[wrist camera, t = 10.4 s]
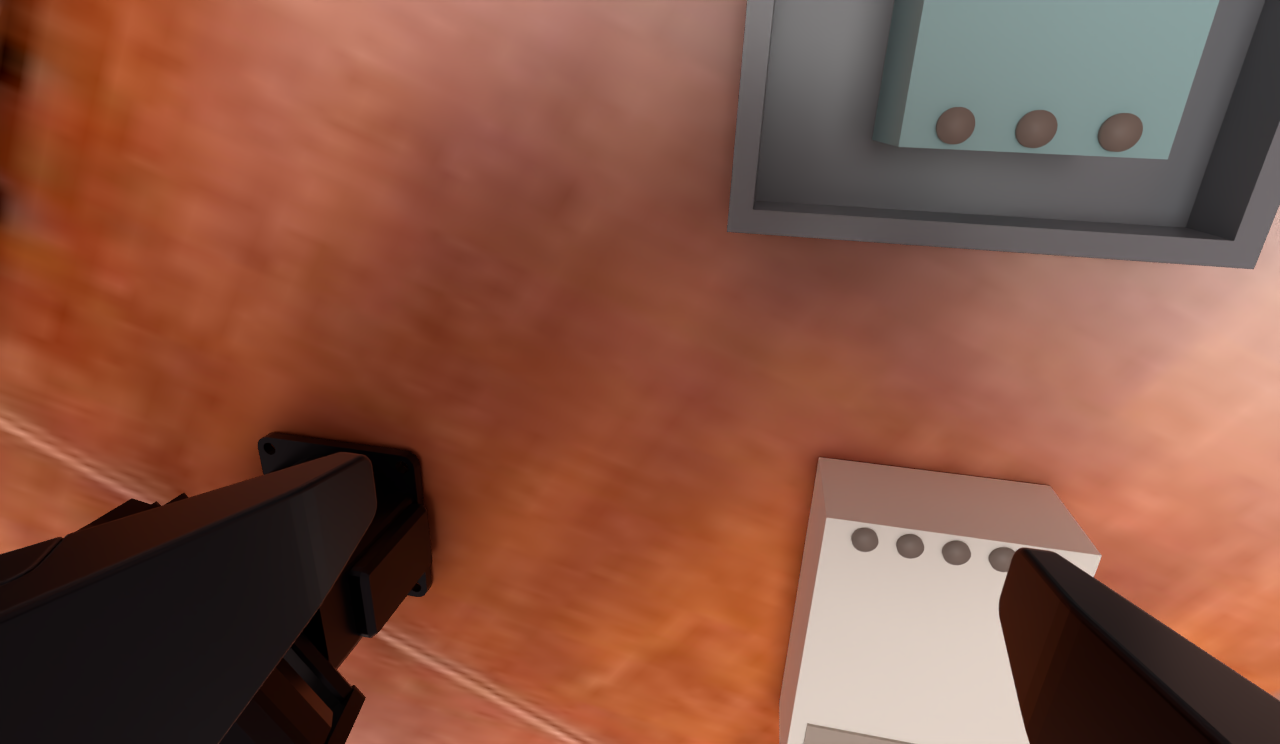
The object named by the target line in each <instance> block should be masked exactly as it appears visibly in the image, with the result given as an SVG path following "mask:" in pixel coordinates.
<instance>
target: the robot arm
mask: <svg viewBox="0 0 1280 744" xmlns="http://www.w3.org/2000/svg"><path fill="white" fill-rule="evenodd" d="M271 444H272V445H273V446H274V447H275V448H274V447H273V446H272V445H271ZM258 450H259V455H260V460H261V464H262V469H263V474H264V475H262V476H259V477H256V478H252V479H249V480H246V481H243V482H239V483H236V484H233V485H229V486H226V487H223V488H219V489H216V490H213V491H210V492H206V493H203V494H200V495H196V496H193V497H190V498H188V496H187V495H186V494H185V493H183V494H181V495H179V496H178V497H176V498H175V499H173V500H171V501H170V502H168V503H167V504H165V505H163V506H161V505H160V504H159V503H158V502H157V501H156V502H155V503H153V504H148V503H145V502H142V501H138V500H135V499H130V500H129V501H127V502H125V503H124V504H122V505H120V506H118V507H117V508H115V509H113V510H112V511H110V512H108V513H107V514H105V515H103V516H102V517H100V518H98V519H97V520H95V521H93V522H92V523H90V524H88V525H86V526H85V527H83V528H81V529H79V530H78V531H76V532H74V533H71V534H68V535H66V536H65V537H64V538H62V537H57V538H54V539H51V540H47V541H44V542H41V543H37V544H34V545H31V546H27V547H24V548H21V549H17V550H14V551H10V552H7V553H4V554H0V744H345V742H346V740H347V738H348V736H349V734H350V731H351V729H352V727H353V725H354V723H355V720H356V718H357V716H358V714H359V712H360V709H361V707H362V705H363V703H364V701H365V698H366V697H365V696H364V695H363V694H362V693H361V692H360V691H359V689H358V688H357V687H356V686H355V685H353V686H351V685H350V684H349V683H348V682H347V681H346V680H345V678H344V677H343V676H342V675H341V674H340V673H339V672H338V671H337V669H338V667H339V666H340V665H341V664H342V662H343V661H344V660H345V659H346V657H347V656H348V655H349V654H350V652H351V651H352V650H353V648H354V647H355V646H356V645H357V643H358V642H359V641H360V640H361V638H362V637H368V638H372V637H373V636H374V635H376V634H377V633H378V632H379V631H380V630H381V629H382V627H383V626H384V625H385V623H386V622H387V621H388V619H389V618H390V617H391V616H392V614H393V613H394V612H395V610H396V609H397V608H398V606H399V605H400V604H401V602H402V601H403V600H404V599H405V597H406V596H407V595H409V596H415V597H421V596H424V595H425V594H426V592H427V591H428V590H429V588H430V587H431V584H432V579H431V570H430V565H431V563H432V554H431V544H430V534H429V524H428V514H427V510H426V508H425V506H424V501H423V491H422V481H421V472H420V463H419V460H418V458H417V457H416V455H414V454H413V453H412V452H409V451H406V450H399V449H392V448H385V447H377V446H370V445H363V444H355V443H348V442H341V441H333V440H326V439H319V438H311V437H304V436H297V435H289V434H282V433H275V432H274V433H269V434H268V435H266V436H264V437H263V438H261V439H260V440H259V442H258ZM401 461H402V462H404V463H405V464H406V465H407V466H408V468H406V467H404V466H403V465H402V463H401ZM417 583H419V584H420V585H419V584H417ZM999 618H1000V623H1001V627H1002V632H1003V636H1004V641H1005V645H1006V649H1007V654H1008V658H1009V663H1010V667H1011V671H1012V676H1013V680H1014V685H1015V689H1016V693H1017V698H1018V702H1019V707H1020V711H1021V715H1022V719H1023V723H1024V727H1025V731H1026V734H1027V737H1028V740H1029V743H1030V744H1280V701H1279V700H1278V699H1276V698H1275V697H1273V696H1272V695H1270V694H1269V693H1267V692H1266V691H1264V690H1263V689H1261V688H1260V687H1258V686H1257V685H1255V684H1254V683H1252V682H1251V681H1249V680H1247V679H1246V678H1244V677H1243V676H1241V675H1240V674H1238V673H1237V672H1235V671H1234V670H1232V669H1231V668H1229V667H1228V666H1226V665H1225V664H1223V663H1222V662H1220V661H1219V660H1217V659H1216V658H1214V657H1213V656H1211V655H1210V654H1208V653H1207V652H1205V651H1204V650H1202V649H1201V648H1199V647H1198V646H1196V645H1195V644H1193V643H1192V642H1190V641H1189V640H1187V639H1186V638H1184V637H1183V636H1181V635H1180V634H1178V633H1177V632H1175V631H1174V630H1172V629H1171V628H1169V627H1168V626H1166V625H1165V624H1163V623H1162V622H1160V621H1158V620H1157V619H1155V618H1154V617H1152V616H1151V615H1149V614H1148V613H1146V612H1145V611H1143V610H1142V609H1140V608H1139V607H1137V606H1136V605H1134V604H1133V603H1131V602H1130V601H1128V600H1127V599H1125V598H1124V597H1122V596H1121V595H1119V594H1118V593H1116V592H1115V591H1113V590H1112V589H1110V588H1109V587H1107V586H1106V585H1104V584H1103V583H1101V582H1100V581H1098V580H1097V579H1095V578H1094V577H1092V576H1091V575H1089V574H1088V573H1086V572H1085V571H1083V570H1082V569H1080V568H1079V567H1077V566H1076V565H1074V564H1073V563H1071V562H1070V561H1068V560H1066V559H1065V558H1063V557H1062V556H1060V555H1059V554H1057V553H1056V552H1053V551H1048V550H1041V549H1034V548H1026V547H1021V548H1019V549H1018V550H1016V552H1015V553H1014V555H1013V557H1012V559H1011V563H1010V566H1009V569H1008V572H1007V576H1006V579H1005V582H1004V585H1003V588H1002V592H1001V595H1000V599H999Z"/></svg>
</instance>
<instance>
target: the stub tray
mask: <svg viewBox="0 0 1280 744" xmlns="http://www.w3.org/2000/svg"><path fill="white" fill-rule="evenodd" d="M894 1H895V0H747V9H746V20H745V32H744V43H743V54H742V66H741V77H740V89H739V100H738V111H737V123H736V134H735V146H734V157H733V168H732V180H731V191H730V203H729V214H728V225H727V232H736V233H751V234H765V235H779V236H793V237H807V238H821V239H835V240H849V241H863V242H877V243H891V244H906V245H920V246H934V247H948V248H962V249H976V250H990V251H1004V252H1018V253H1032V254H1046V255H1061V256H1075V257H1089V258H1103V259H1117V260H1131V261H1145V262H1159V263H1173V264H1187V265H1202V266H1216V267H1230V268H1244V269H1254V267H1255V265H1256V262H1257V260H1258V257H1259V255H1260V252H1261V250H1262V247H1263V245H1264V242H1265V240H1266V237H1267V235H1268V232H1269V230H1270V227H1271V225H1272V222H1273V220H1274V217H1275V215H1276V212H1277V210H1278V207H1279V205H1280V0H1219V3H1218V6H1217V10H1216V13H1215V16H1214V19H1213V22H1212V25H1211V28H1210V31H1209V34H1208V37H1207V40H1206V43H1205V46H1204V49H1203V52H1202V56H1201V59H1200V62H1199V65H1198V68H1197V71H1196V74H1195V77H1194V80H1193V83H1192V86H1191V89H1190V92H1189V95H1188V98H1187V102H1186V105H1185V108H1184V111H1183V114H1182V117H1181V120H1180V123H1179V126H1178V129H1177V132H1176V135H1175V138H1174V141H1173V144H1172V148H1171V151H1170V154H1169V157H1168V160H1167V159H1146V158H1125V157H1103V156H1082V155H1061V154H1039V153H1018V152H997V151H976V150H954V149H933V148H912V147H897V146H893V145H889V144H886V143H882V142H878V141H874V140H872V137H873V131H874V125H875V119H876V112H877V106H878V100H879V94H880V88H881V81H882V75H883V69H884V63H885V57H886V51H887V44H888V38H889V32H890V26H891V20H892V13H893V7H894Z"/></svg>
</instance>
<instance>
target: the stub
mask: <svg viewBox="0 0 1280 744" xmlns="http://www.w3.org/2000/svg"><path fill="white" fill-rule="evenodd" d="M1218 3H1219V0H895V1H894V7H893V13H892V20H891V26H890V32H889V38H888V44H887V51H886V57H885V63H884V69H883V75H882V81H881V88H880V94H879V100H878V106H877V112H876V119H875V125H874V131H873V137H872V140H874V141H878V142H882V143H886V144H889V145H893V146H897V147H912V148H933V149H954V150H976V151H997V152H1018V153H1039V154H1061V155H1082V156H1103V157H1125V158H1146V159H1167V160H1168V157H1169V154H1170V151H1171V148H1172V144H1173V141H1174V138H1175V135H1176V132H1177V129H1178V126H1179V123H1180V120H1181V117H1182V114H1183V111H1184V108H1185V105H1186V102H1187V98H1188V95H1189V92H1190V89H1191V86H1192V83H1193V80H1194V77H1195V74H1196V71H1197V68H1198V65H1199V62H1200V59H1201V56H1202V52H1203V49H1204V46H1205V43H1206V40H1207V37H1208V34H1209V31H1210V28H1211V25H1212V22H1213V19H1214V16H1215V13H1216V10H1217V6H1218Z"/></svg>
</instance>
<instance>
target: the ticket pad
mask: <svg viewBox="0 0 1280 744" xmlns="http://www.w3.org/2000/svg"><path fill="white" fill-rule="evenodd" d="M1021 547H1026V548H1034V549H1041V550H1048V551H1053V552H1056V553H1057V554H1059V555H1060V556H1062V557H1063V558H1065V559H1066V560H1068V561H1070V562H1071V563H1073V564H1074V565H1076V566H1077V567H1079V568H1080V569H1082V570H1083V571H1085V572H1086V573H1088V574H1089V575H1091V576H1092V577H1094V575H1095V572H1096V570H1097V567H1098V564H1099V562H1100V559H1101V556H1102V555H1101V554H1100V553H1099V551H1098V550H1097V549H1096V547H1095V546H1094V545H1093V543H1092V542H1091V540H1090V539H1089V538H1088V536H1087V535H1086V534H1085V532H1084V531H1083V530H1082V528H1081V527H1080V526H1079V524H1078V523H1077V522H1076V520H1075V519H1074V517H1073V516H1072V515H1071V513H1070V512H1069V511H1068V509H1067V508H1066V507H1065V505H1064V504H1063V503H1062V501H1061V500H1060V499H1059V497H1058V496H1057V494H1056V493H1055V492H1054V490H1053V489H1052V488H1051V486H1048V485H1040V484H1032V483H1024V482H1016V481H1008V480H1000V479H992V478H983V477H975V476H967V475H959V474H951V473H943V472H935V471H927V470H919V469H911V468H903V467H895V466H887V465H879V464H871V463H863V462H855V461H847V460H839V459H830V458H822V457H819V459H818V466H817V472H816V478H815V484H814V490H813V497H812V503H811V509H810V515H809V521H808V528H807V534H806V540H805V546H804V552H803V559H802V565H801V571H800V577H799V583H798V590H797V596H796V602H795V608H794V614H793V621H792V627H791V633H790V639H789V645H788V652H787V658H786V664H785V670H784V676H783V683H782V689H781V695H780V701H779V744H1030V743H1029V740H1028V737H1027V734H1026V731H1025V727H1024V723H1023V719H1022V715H1021V711H1020V707H1019V702H1018V698H1017V693H1016V689H1015V685H1014V680H1013V676H1012V671H1011V667H1010V663H1009V658H1008V654H1007V649H1006V645H1005V641H1004V636H1003V632H1002V627H1001V623H1000V618H999V599H1000V595H1001V592H1002V588H1003V585H1004V582H1005V579H1006V576H1007V572H1008V569H1009V566H1010V563H1011V559H1012V557H1013V555H1014V553H1015V552H1016V550H1018V549H1019V548H1021Z"/></svg>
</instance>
